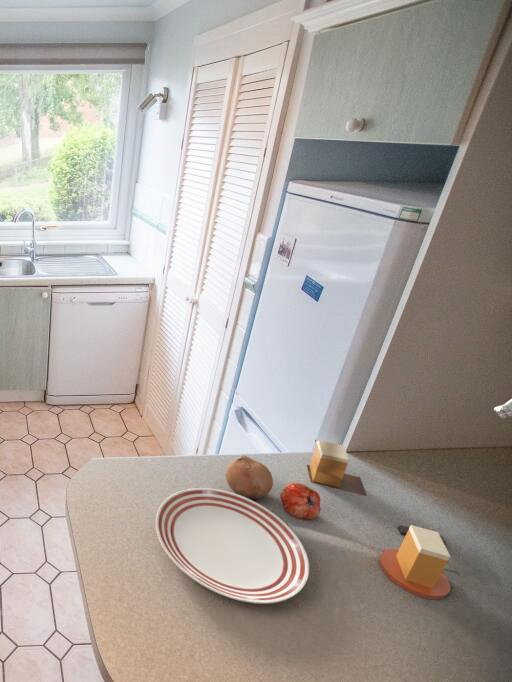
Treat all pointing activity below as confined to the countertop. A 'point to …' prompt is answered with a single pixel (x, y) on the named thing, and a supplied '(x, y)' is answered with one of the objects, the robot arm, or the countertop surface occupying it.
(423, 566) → the cake slice
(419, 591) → the coaster
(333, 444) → the loaf cake
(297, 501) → the pomegranate
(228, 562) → the dinner plate
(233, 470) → the onion
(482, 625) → the countertop surface
